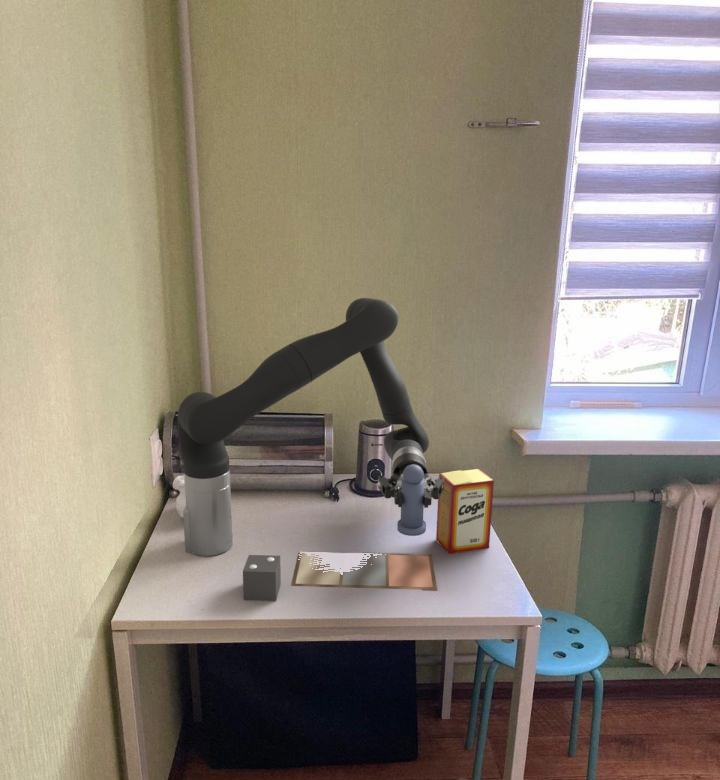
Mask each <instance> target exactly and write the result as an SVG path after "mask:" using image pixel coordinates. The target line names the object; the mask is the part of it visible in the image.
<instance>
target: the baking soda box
mask: <svg viewBox="0 0 720 780" xmlns="http://www.w3.org/2000/svg"><path fill="white" fill-rule="evenodd" d="M438 477H444V490H443V492H442V494H441V496H440V497H439V499H437V511H436V512H437V513H436V514H437V515H436V536H435V540H436V542H437V543H438V542H439V543H440V544H441V545H440V544H439V543H438V544H439V545H440V546H441V547H442V548H443V550H445V552H446V553H447V554H448V555H452V554H457V553H464V552H465V553H466V552H471V551H472V552H473V551H477V550H483V549H488V548H490V540H491V539H490V538H491V527H492V526H491V524H492V513H493V512H492V511H493V498H494V497H493V496H494V485H495V480H494V479H493V478H491V476H489V475H488V474H486V473H485V472H484V471H483V470H481V469H480V468H475V469H474V468H473V469H465V470H461V469H459V470H453V471H446V472H441V473H440V472H439V475H438Z"/></svg>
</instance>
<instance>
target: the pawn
mask: <svg viewBox="0 0 720 780" xmlns="http://www.w3.org/2000/svg"><path fill="white" fill-rule="evenodd" d="M423 477H424V473H423V470H422V468H421V467H420V466H418V465H415V464H412V465H409V466H407V467H406V468H405V469H404V471H403V479H402V488H401V492H402V507H400V519H399V520H398V521H397V524H396V525H397V527H396V528H397V529H396V530H397V531H398V532H399V533H400V534H402V535H404V536H408V537H417V536H421V535H423V534H425V532H426V531H427V523H426V521H425V520H424V510H425V508H424V484H425V481H424V480H423Z"/></svg>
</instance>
